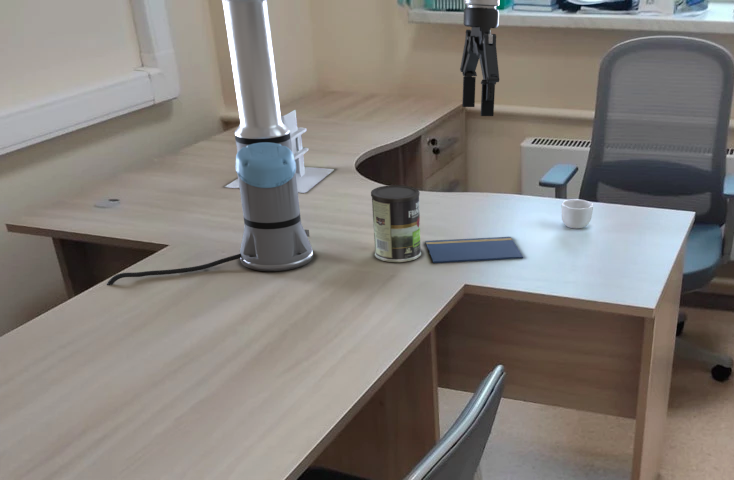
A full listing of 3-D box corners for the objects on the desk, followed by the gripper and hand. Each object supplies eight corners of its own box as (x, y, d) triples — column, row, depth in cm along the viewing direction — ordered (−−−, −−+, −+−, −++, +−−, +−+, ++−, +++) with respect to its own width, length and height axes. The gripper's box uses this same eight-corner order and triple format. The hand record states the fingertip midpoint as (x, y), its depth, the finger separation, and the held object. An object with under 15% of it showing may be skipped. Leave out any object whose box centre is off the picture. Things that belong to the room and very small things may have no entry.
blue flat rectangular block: (433, 263, 182) (433, 261, 182) (425, 242, 193) (425, 240, 193) (523, 258, 186) (523, 256, 186) (510, 238, 197) (510, 236, 197)
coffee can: (426, 248, 190) (425, 186, 183) (413, 264, 181) (411, 200, 174) (383, 244, 191) (380, 182, 184) (367, 260, 183) (363, 196, 176)
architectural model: (335, 169, 244) (330, 104, 235) (305, 192, 223) (298, 123, 214) (260, 163, 247) (252, 100, 238) (224, 187, 226) (214, 118, 217)
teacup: (592, 231, 202) (594, 209, 200) (560, 230, 202) (562, 208, 200) (589, 218, 211) (591, 197, 208) (559, 217, 211) (560, 196, 208)
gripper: (518, 10, 170) (512, 120, 179) (480, 5, 191) (476, 103, 200) (483, 8, 168) (478, 119, 177) (448, 3, 188) (446, 103, 198)
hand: (477, 111), depth 189 cm, fingers open, 13 cm apart
